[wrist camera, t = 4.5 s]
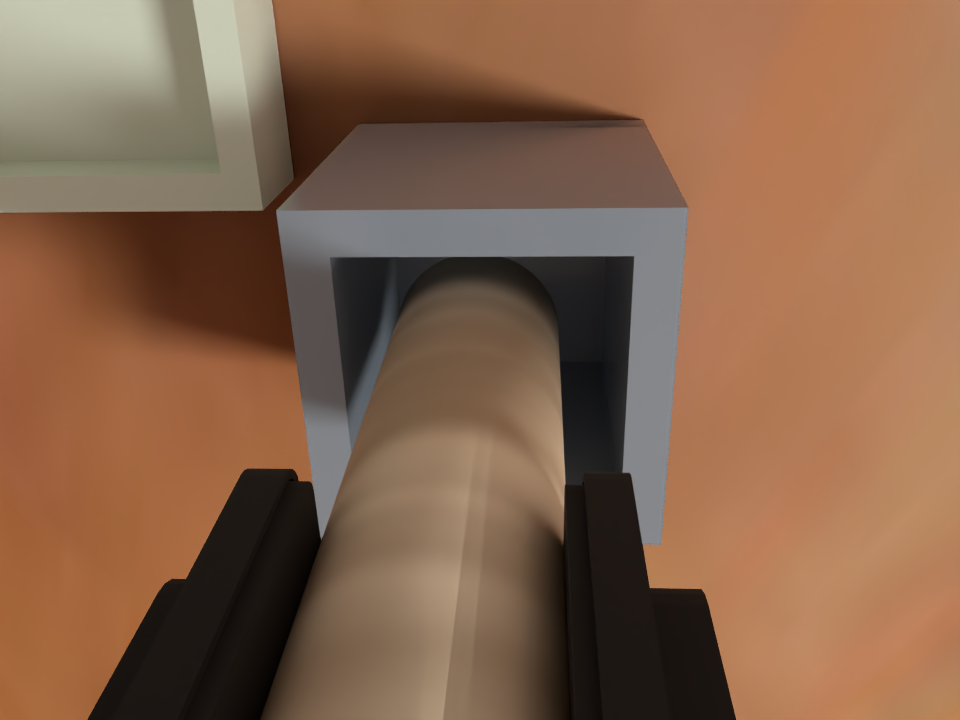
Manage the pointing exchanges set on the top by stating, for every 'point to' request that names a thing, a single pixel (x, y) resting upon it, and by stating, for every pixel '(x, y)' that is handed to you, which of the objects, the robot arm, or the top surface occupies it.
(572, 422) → the holder
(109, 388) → the top surface
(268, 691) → the robot arm
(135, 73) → the tray
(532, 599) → the dowel
